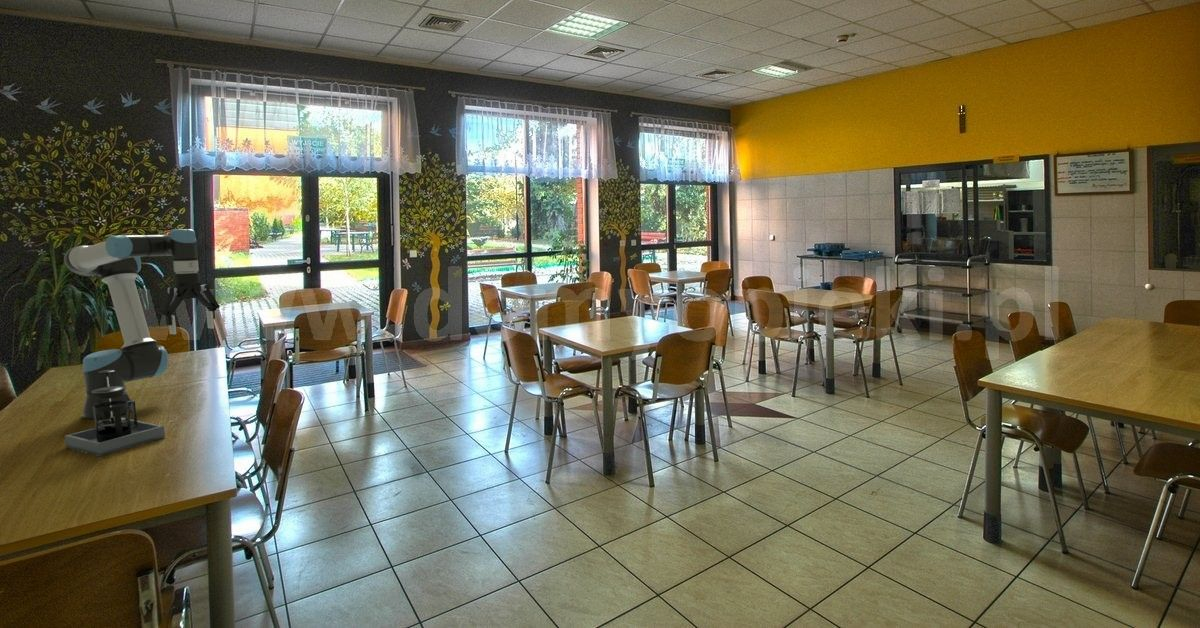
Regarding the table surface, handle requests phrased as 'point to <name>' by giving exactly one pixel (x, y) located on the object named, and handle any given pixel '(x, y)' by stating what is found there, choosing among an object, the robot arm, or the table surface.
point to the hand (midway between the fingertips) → (192, 331)
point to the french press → (117, 419)
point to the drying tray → (139, 436)
